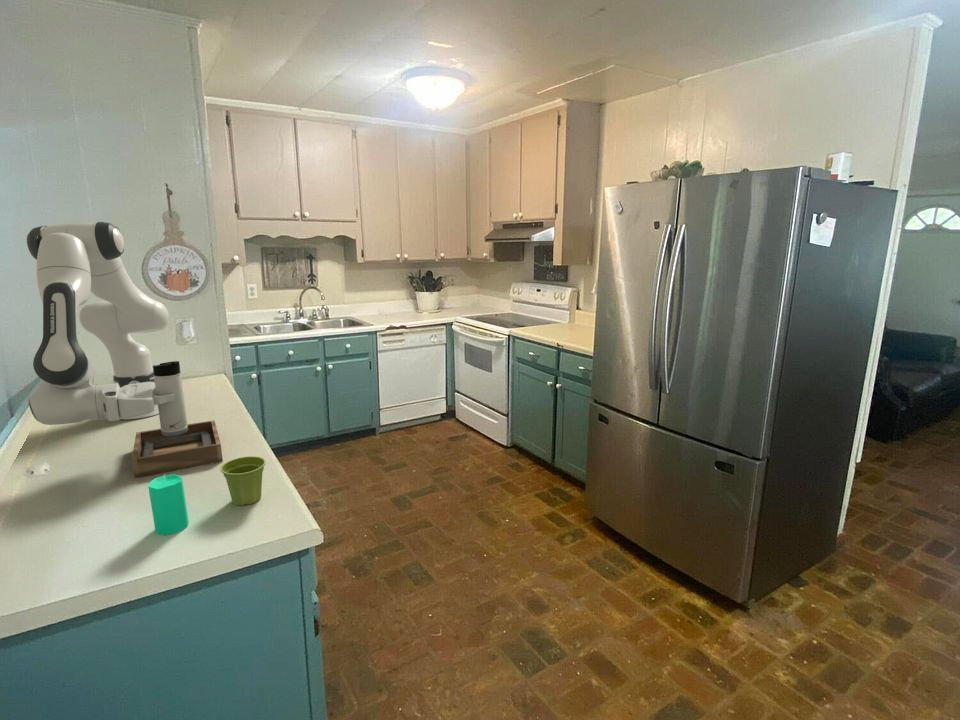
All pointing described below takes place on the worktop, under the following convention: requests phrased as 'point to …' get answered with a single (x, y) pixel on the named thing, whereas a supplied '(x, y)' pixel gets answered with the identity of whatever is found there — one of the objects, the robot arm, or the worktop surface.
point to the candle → (168, 504)
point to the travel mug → (172, 411)
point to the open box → (176, 451)
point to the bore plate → (176, 441)
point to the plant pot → (244, 478)
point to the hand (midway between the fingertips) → (174, 393)
